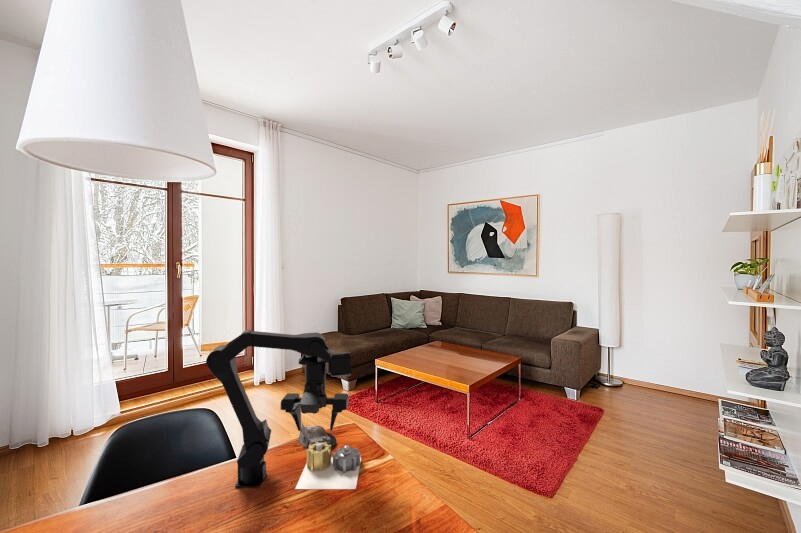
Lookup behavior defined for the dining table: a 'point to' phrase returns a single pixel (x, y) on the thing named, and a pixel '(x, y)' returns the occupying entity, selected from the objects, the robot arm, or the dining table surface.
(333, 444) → the caster wheel
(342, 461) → the gear
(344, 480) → the gear board
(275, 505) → the dining table surface
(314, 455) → the brass gear
